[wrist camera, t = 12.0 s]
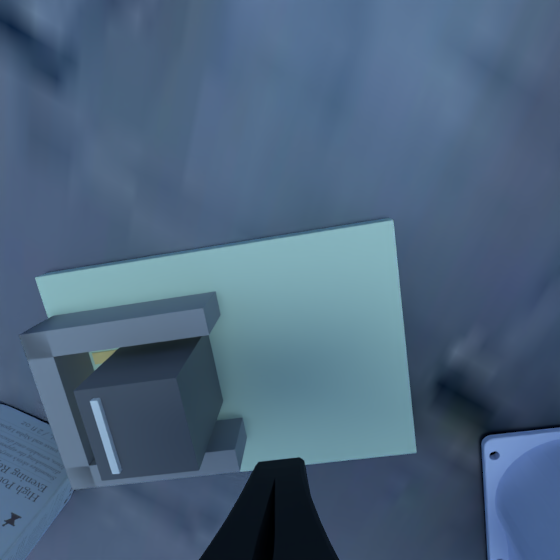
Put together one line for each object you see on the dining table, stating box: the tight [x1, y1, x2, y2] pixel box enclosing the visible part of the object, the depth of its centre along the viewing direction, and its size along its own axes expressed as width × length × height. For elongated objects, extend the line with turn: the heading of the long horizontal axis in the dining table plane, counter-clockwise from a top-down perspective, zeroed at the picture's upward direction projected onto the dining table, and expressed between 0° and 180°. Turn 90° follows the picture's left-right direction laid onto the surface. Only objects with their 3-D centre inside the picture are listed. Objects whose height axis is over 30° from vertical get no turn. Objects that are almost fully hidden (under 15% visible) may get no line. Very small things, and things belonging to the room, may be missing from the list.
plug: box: [73, 335, 223, 481], centre depth 18 cm, size 4×4×5 cm
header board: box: [19, 218, 417, 490], centre depth 19 cm, size 12×17×4 cm
